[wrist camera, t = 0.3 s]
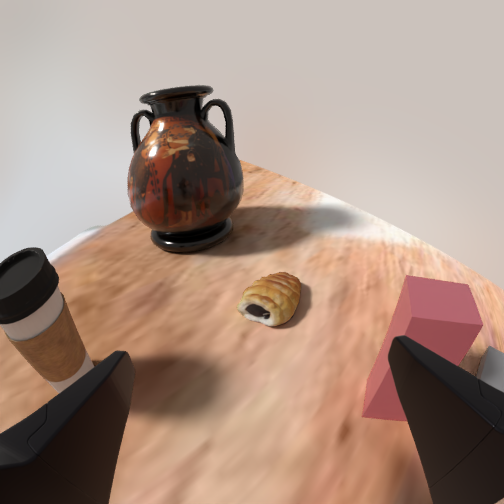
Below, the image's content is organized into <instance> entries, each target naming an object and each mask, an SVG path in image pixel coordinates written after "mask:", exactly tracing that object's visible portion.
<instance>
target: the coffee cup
mask: <svg viewBox="0 0 504 504" xmlns="http://www.w3.org/2000/svg"><path fill="white" fill-rule="evenodd" d="M58 283H59V277H58V274H57V273H56V271H55V268H54V267H53V266H52V265H51V264H50V263H49V261H48V259H47V257H46V255H45V253H44V252H43V250H42V249H40V248H26V249H23V250H21V251H18V252H16V253H14V254H12V255H11V256H9V257H8V258H6V259H5V260H4V261H2V262H1V263H0V325H1V327H2V328H3V329H4V332H5V335H6V336H7V338H8V339H9V340H10V341H11V343H12V344H13V345H14V346H15V347H16V349H17V350H18V351H19V352H20V353H21V354H22V356H23V357H24V358H25V359H26V360H27V361H28V362H29V363H30V364H31V366H32V367H33V368H34V369H35V370H36V371H37V372H38V373H39V374H40V375H41V376H42V377H43V378H44V379H45V380H46V381H47V382H48V383H49V384H50V385H51V386H52V387H53V388H54V389H55V390H56V391H57V392H58V393H61V392H62V391H63V390H64V389H66V388H67V387H68V386H70V385H71V384H72V383H74V382H75V381H76V380H78V379H79V378H80V377H82V376H83V375H84V374H86V373H87V372H88V371H90V370H91V369H92V368H94V365H93V363H92V361H91V359H90V357H89V355H88V353H87V351H86V349H85V347H84V344H83V342H82V340H81V338H80V336H79V333H78V331H77V329H76V326H75V324H74V321H73V319H72V316H71V314H70V311H69V309H68V306H67V303H66V301H65V298H64V295H63V294H62V293H61V292H60V290H59V287H58Z"/></svg>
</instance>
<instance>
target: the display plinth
mask: <svg viewBox="0 0 504 504" xmlns="http://www.w3.org/2000/svg"><path fill="white" fill-rule="evenodd" d="M476 377H477V378H478V379H481V380H482V381H484V382H486V383H487V384H489V385H491V386H493V387H495V388H496V389H498V390H500V391H502V392H504V353H502V352H500V351H498V350H496V349H495V348H493V347H491V346H489V347H488V348H487V350H486V351H485V353H484V354H483V356H482V358H481V362H480V365H479V368H478V372H477V375H476Z"/></svg>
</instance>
